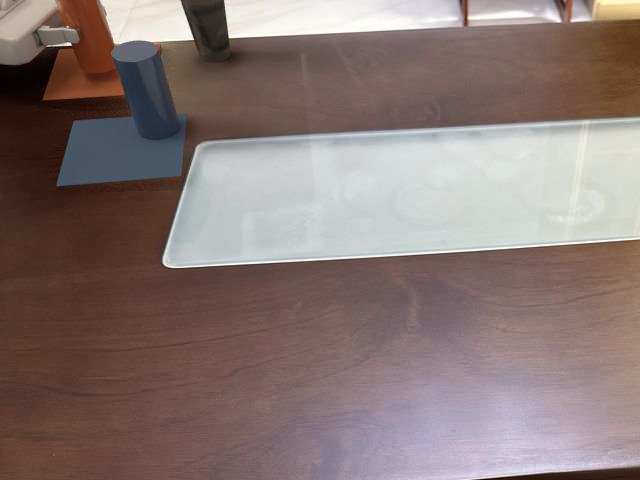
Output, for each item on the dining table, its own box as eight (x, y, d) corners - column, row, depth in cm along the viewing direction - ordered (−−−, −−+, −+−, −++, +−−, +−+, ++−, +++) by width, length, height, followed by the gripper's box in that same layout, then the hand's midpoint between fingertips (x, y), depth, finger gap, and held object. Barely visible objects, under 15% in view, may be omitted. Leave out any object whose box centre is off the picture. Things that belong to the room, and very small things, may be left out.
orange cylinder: (77, 74, 104) (47, -4, 96) (82, 55, 108) (54, -22, 99) (118, 72, 105) (92, -6, 97) (122, 53, 109) (97, -23, 100)
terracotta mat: (43, 103, 103) (42, 100, 102) (60, 52, 112) (58, 49, 112) (154, 96, 105) (153, 93, 105) (161, 47, 115) (160, 43, 114)
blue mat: (57, 190, 90) (55, 186, 90) (75, 124, 100) (73, 120, 99) (182, 179, 92) (181, 175, 92) (188, 116, 102) (186, 112, 102)
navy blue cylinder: (135, 141, 97) (108, 63, 88) (139, 118, 100) (113, 41, 92) (179, 138, 97) (156, 60, 89) (181, 115, 101) (159, 38, 93)
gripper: (46, 4, 112) (131, 14, 111) (-34, 68, 98) (63, 80, 97) (29, -39, 107) (118, -29, 106) (-57, 22, 94) (44, 34, 93)
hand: (91, 24), depth 102 cm, fingers closed on orange cylinder, 5 cm apart
